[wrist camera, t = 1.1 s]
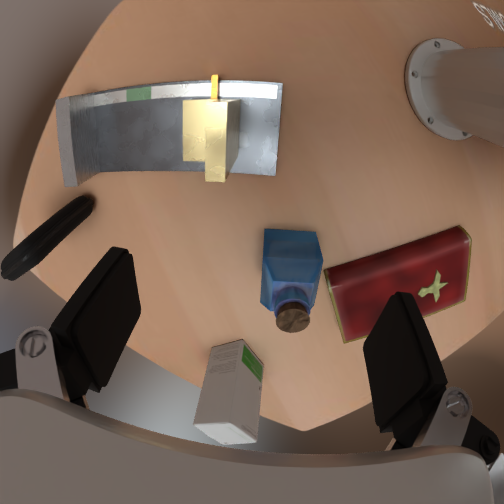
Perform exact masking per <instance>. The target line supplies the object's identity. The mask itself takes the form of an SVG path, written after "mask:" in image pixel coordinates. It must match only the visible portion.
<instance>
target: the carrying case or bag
mask: <svg viewBox="0 0 504 504" xmlns="http://www.w3.org/2000/svg"><path fill="white" fill-rule="evenodd" d="M92 205H93V200H92V199H91V198H87V197H86V196H80V197H78V198H76V199H74V200H73V201H71V202H70V203H69V204H67V205H66V206H65V207H63V208H62V209H61V210H59V211H58V212H57V213H55V214H54V215H53V216H52V217H50V218H49V219H48V220H47V221H45V222H44V223H43V224H42V225H41V226H39V227H38V228H37V229H36V230H35V231H33V232H32V233H31V234H30V235H29V236H28V237H26V238H25V239H24V240H23V241H22V242H21V243H20V244H19V245H17V246H16V247H15V248H14V249H13V250H12V251H11V252H10V253H9V254H8V255H7V256H6V257H5V258H4V260H3V261H2V263H1V270H2V272H1V276H2V277H3V278H4V279H8V280H11V281H13V280H16V279H17V278H19V277H20V276H21V275H23V274H24V273H25V272H27V271H28V270H30V269H32V268H33V267H35V266H36V265H37V264H39V263H40V262H41V261H42V260H43V259H44V258H45V257H46V256H47V255H48V254H49V253H50V252H51V251H52V250H53V249H54V248H55V247H56V246H57V245H58V244H59V243H60V242H61V241H62V240H63V239H64V238H65V237H66V236H68V235H69V234H70V233H71V232H72V231H73V230H74V229H75V228H76V227H77V226H78V225H79V224H80V223H82V222H83V221H84V220H85V219H86V218H87V217H88V216H89V215H90V214H91V212H92V210H93V208H92Z"/></svg>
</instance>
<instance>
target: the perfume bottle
mask: <svg viewBox="0 0 504 504" xmlns="http://www.w3.org/2000/svg"><path fill="white" fill-rule="evenodd" d="M322 264H323V257H322V253H321V249H320V246H319V242H318V238H317V235H316V232H310V231H295V230H279V229H265V230H264V248H263V264H262V281H261V298H260V303H261V304H263V305H264V306H265V307H266V308H267V309H268V310H270V311H274V313H275V317H276V325H277V327H278V328H279V329H281V330H282V331H285V332H289V333H294V332H299V331H302V330H304V329H305V328H306V327H307V326H308V325H309V323H310V317H309V314H310V309H311V308H312V307H313V306H314V303H315V298H316V294H317V289H318V284H319V279H320V274H321V270H322Z"/></svg>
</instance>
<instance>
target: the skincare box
mask: <svg viewBox="0 0 504 504" xmlns="http://www.w3.org/2000/svg"><path fill="white" fill-rule="evenodd" d="M263 367H264V366H263V364H262V363H261V362H260V360H259V359H258V358H257V356H256V355H255V354H254V353H253V352H252V350H251V349H250V348H249V347H248V345H247V344H246V343H245V342H244V340H238V341H235V342H231V343H227V344H224V345H220V346H216V347H212V350H211V353H210V357H209V361H208V365H207V370H206V374H205V378H204V382H203V386H202V390H201V394H200V398H199V403H198V406H197V410H196V415H195V419H194V423H193V425H194V426H196V427H197V428H198V429H200V430H201V431H203V432H204V433H205V434H206V435H207V436H208V437H211V438H213V439H215V440H216V441H218V442H219V443H221V444H223V445H228V444H242V443H254V442H257V434H258V422H259V412H260V401H261V390H262V379H263Z"/></svg>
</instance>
